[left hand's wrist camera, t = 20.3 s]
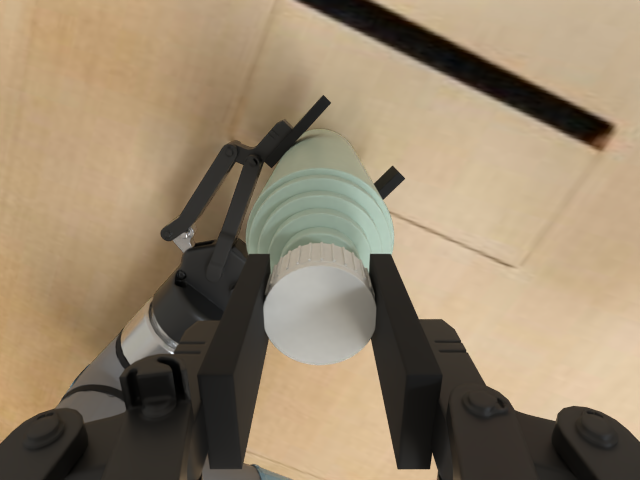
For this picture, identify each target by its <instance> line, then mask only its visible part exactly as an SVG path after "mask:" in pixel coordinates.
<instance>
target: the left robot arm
mask: <svg viewBox="0 0 640 480" xmlns="http://www.w3.org/2000/svg"><path fill="white" fill-rule="evenodd" d="M270 274H271V267H270V254H249V255H248V258H247V260H246V262H245V265H244V267H243V269H242V272H241V274H240V276H239V279H238V281H237V283H236V285H235V288H234V290H233V292H232V295H231V297H230V299H229V302H228V304H227V306H226V309H225V311H224V313H223V316H222V318H221V320H220V321H197V322H196V323H194V324H193V325H192V326H190V327H189V328H188V329H187V330H185V332H184V334H183V336H182V338H181V339H180V341H179V344H178V345H177V347H176V348H175V350H174V354H156V355H151V356H147V357H145V358H142V359H140V360H138V361H135V362H134V363H133V364H131V365H130V366H128V367H127V368H126V369H125V370H124V371H123V373H122V374H121V375H120V377H119V380H120V384H121V389H122V393H123V398H124V402H125V407H126V411H125V412H123V413H121V414H118V415H115V416H111V417H107V418H103V419H99V420H95V421H91V422H86V423H84V420H83V416H82V415H81V414H80V413H79V412H78V411H77V410H75V409H70V408H58V409H52V410H49V411H46V412H43V413H40V414H38V415H36V416H34V417H32V418H30V419H28V420H26V421H25V422H23V423H22V424H21V425H20V426H19V427H17V428H16V429H15V430H14V431H12V432H11V433H10V435H9V436H8V437H7V438H6V439H5V440H4V441H3V442H2V443H1V444H0V480H203V475H202V470H203V467H204V463H205V460H206V457H207V454H208V460H209V467H210V469H242V467H243V462H244V457H245V452H246V447H247V442H248V438H249V433H250V428H251V423H252V418H253V413H254V408H255V403H256V399H257V394H258V389H259V384H260V379H261V374H262V369H263V364H264V360H265V355H266V350H267V345H268V340H269V337H268V336H267V334H266V331H265V327H264V311H263V305H264V301H265V297H266V295H265V291H266V287H267V283H268V280H269V276H270ZM369 276H370V280H371V283H372V287H373V291H374V295H375V302H376V324H375V331H374V333H373V335H372V337H371V341H372V346H373V351H374V356H375V361H376V366H377V371H378V375H379V380H380V385H381V390H382V395H383V400H384V405H385V410H386V414H387V419H388V424H389V429H390V434H391V439H392V444H393V449H394V453H395V458H396V463H397V468H398V469H430V465H431V458H432V453H433V456H434V459H435V462H436V466H437V469H438V475H437V480H640V442H639V441H638V440H637V439H636V438H635V437H634V436H633V434H632V433H631V432H630V431H629V430H628V429H626V428H625V427H624V426H623V425H621V424H620V423H619V422H618V421H617V420H615V419H613V418H611V417H610V416H608V415H606V414H604V413H602V412H600V411H596V410H593V409H590V408H587V407H578V406H571V407H567V408H563V409H562V410H561V411H560V412H559V413H558V415H557V419H556V421H552V420H548V419H544V418H539V417H535V416H531V415H527V414H524V413H521V412H518V411H516V410H514V408H513V407H512V405H511V403H510V402H509V400H508V399H507V398H506V397H504V396H503V395H502V394H501V393H500V392H498V391H496V390H494V389H492V388H490V387H488V386H486V384H485V383H484V381H483V379H482V377H481V376H480V374H479V372H478V370H477V368H476V367H475V365H474V363H473V361H472V360H471V358H470V356H469V354H468V353H466V349H465V347H464V345H463V344H462V343H461V340H460V338H459V336H458V335H457V333H456V331H455V329H454V328H452V327H451V326H450V325H448V324H447V323H446V322H445V321H443V320H442V319H418V316H417V314H416V312H415V309H414V307H413V305H412V302H411V300H410V298H409V295H408V293H407V291H406V288H405V286H404V284H403V281H402V279H401V277H400V275H399V272H398V270H397V268H396V265H395V263H394V261H393V258H392V256H391V254H370V262H369Z"/></svg>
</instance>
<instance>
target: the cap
mask: <svg viewBox="0 0 640 480" xmlns="http://www.w3.org/2000/svg"><path fill="white" fill-rule="evenodd" d="M265 295H266V297H265V301H264V305H263V311H264V327H265V331H266V334H267V336H268V337H269V339H270V341H271V342H272V343H273V345H274V346H275V347H276V348H277V349H278V350H279V351H280V352H282V353H283V354H284V355H286V356H288V357H289V358H291V359H294V360H296V361H298V362H302V363H306V364H311V365H328V364H334V363H338V362H341V361H344V360H346V359H348V358H350V357H352V356H354V355H355V354H357V353H358V352H359V351H360V350H362V349H363V348H364V347H365V345H366V344H367V343H368V342H369V340H370V339H371V337H372V335H373V333H374V331H375V324H376V302H375V295H374V291H373V287H372V283H371V280H370V276H369V273H368V269H367V267H366V268H365V267H364V265H363V263H362V260H361V259H360V260H359V259H358V258H357V257H356V256H355V255H354V253H353V252H352V253H351V252H349V251H348V250H346V249H345V247H339V246H336V245H334V243H332V244H326V243H323V242H321V243H309V244H307V245H304V246H301V245H300V246H298V248H296V249H294V250H292V251H291V250H290V251H288V254H286V255H285V256H284V257H281V258H280V261H279V262H278V264H277V265H274V268H273V271H272V274H270V276H269V280H268V283H267V287H266V291H265Z"/></svg>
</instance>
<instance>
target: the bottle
mask: <svg viewBox="0 0 640 480" xmlns="http://www.w3.org/2000/svg"><path fill="white" fill-rule="evenodd" d="M321 242H323V243H326V244H332V243H334V245H336V246H339V247H345V249H346V250H348V251H349V252H351V253H352V252H353V253H354V255H355V256H356V257H357V258H358V259H359V260H360V259H361V260H362V263H363V265H364V267H365V268H366V267H367V269H368V273H369V262H370V254H391V255H392V251H393V245H394V229H393V223H392V219H391V215H390V213H389V211H388V208H387V206H386V205H385V203H384V201H383V199H382V198H381V196H380V194H379V192H378V191H377V189H376V187H375V185H374V184H373V182H372V180H371V178H370V177H369V175H368V173H367V171H366V170H365V168H364V166H363V164H362V163H361V161H360V159H359V158H358V156H357V154H356V152H355V151H354V149H353V147H352V145H351V144H350V143H349V142H348V141H347V140H346V139H345V138H344V137H343V136H341V135H340V134H338V133H336V132H334V131H331V130H327V129H314V130H309V131H306V132H304V133H303V134H302V135H301V136H300V138H299V139H298V140H297V141H296V142H295V143H294V144H293V145H292V146H291V147H290V149H289V150H288V151H287V152H286V153H285V154H284V155H283V156H282V157H281V159H280V161H279V163H278V164H277V166H276V168H275V170H274V171H273V173H272V175H271V176H270V178H269V180H268V182H267V183H266V185H265V187H264V189H263V190H262V192H261V194H260V196H259V197H258V199H257V201H256V202H255V204H254V206H253V208H252V210H251V213H250V215H249V219H248V222H247V228H246V246H247V252H248V255H249V254H270V267H271V274H272V271H273V268H274V265H277V264H278V262H279V261H280V258H281V257H284V256H285V255H286V254H288V251H290V250H291V251H292V250H294V249H296V248H298V246H300V245H301V246H304V245H307V244H309V243H321Z"/></svg>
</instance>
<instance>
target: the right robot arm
mask: <svg viewBox="0 0 640 480" xmlns="http://www.w3.org/2000/svg"><path fill="white" fill-rule="evenodd" d="M330 104H331V102H330V101H329V100H328V99H327V98H326V97H325V96H324V95H323V96H322V97H321V98H320V99H319V100H318V101H317V102H316V104H315V105H314V106H313V107H312V108H311V109H310V110H309V111H308V112H307V114H306V115H305V116H304V117H303V118H302V119H301V120H300V121H299V122H298V124H297V125H296V126H295V127H294V128H293V127H292V126H291V125H290V124H289V123H288V122H287V121H286V120H285V119H284V120H282V121H280V122H278V123H277V124H276V125H275V126H274V127H273V128H272V129H271V131H270V132H269V133H268V134H267V135H266V136H265V137H264V139H263V140H262V141H261V142H260V143H259V144H258V145H257V146H256V147H248V146H246V145H244V144H241V142H239V141H237V140H234V141H231V142H230V143H228V144H226V145H225V146H224V147H223V148H222V149H221V151H220V152H219V154H218V156H217V157H216V159H215V160H214V162H213V164H212V165H211V167H210V168H209V170H208V172H207V173H206V175H205V176H204V178H203V180H202V181H201V183H200V184H199V186H198V188H197V189H196V191H195V192H194V194H193V195H192V197H191V199H190V200H189V202H188V203H187V205H186V207H185V208H184V210H183V211H182V213H181V214H180V215H179V216H178V217H176V218H175V219H173V220H172V221H171V222H170V223H169V224H168V225H167V226H165V227H164V228H163V229H162V230H161V237H162V238H163V239H164V240H166V241H172V240H173V241H174V243H175V244H176V245H177V246H178V247H179V248H180V250H181V251H182V252H183V255H182V261H181V264H180V266H179V267H178V268H177V269H176V270H175V271H174V273H173V274H172V275H171V276H170V277H169V278H168V279H167V280H166V281H165V282H164V284H163V285H162V286H161V287H160V288H159V289H158V290H157V291H156V293H155V294H154V296H153V297H151V298H150V299H149V300H148V301H147V302H146V304H145V305H144V306H143V307H142V308H141V309H140V310H139V311H138V312H137V313H136V314H135V315H134V317H133V318H132V319H131V320H130V321H129V322H128V323H127V324H126V325H125V327H124V328H123V329H122V330H121V332H120V333H119V334H118V336H117V337H116V338H115V339H114V340H113V341H112V342H111V343H110V344H109V345H108V346H107V347H106V348H105V349H104V350H103V351H102V352H101V353H100V354H99V355H98V356H97V357H96V358H95V360H94V361H93V362H92V363H91V364H89V365H88V366H87V367H86V368H85V369H84V370H83V371H82V372H81V373H80V374H79V376H78V377H77V378H76V379H75V380H74V382H73V383H72V384H71V386H70V388H69V390H68V391H67V392H66V394H65V395H64V397H63V398H62V400H61V401H60V403H59V404H58V405H57V407H56V408H55V409H58V408H70V409H75V410H77V411H78V412H79V413H80V414H81V415H82V416H83V420H84V423H86V422H91V421H95V420H99V419H103V418H107V417H111V416H115V415H118V414H121V413H123V412H125V411H126V407H125V402H124V398H123V393H122V389H121V384H120V380H119V377H120V375H121V374H122V373H123V371H124V370H125V369H126V368H127V367H128V366H130V365H131V364H133V363H134V362H135V361H138V360H140V359H142V358H145V357H147V356H151V355H156V354H174V350H175V348H176V347H177V345H178V344H179V341H180V339H181V338H182V336H183V334H184V332H185V330H187V329H188V328H189V327H190V326H192V325H193V324H194V323H196V322H197V321H220V320H221V318H222V316H223V313H224V311H225V309H226V306H227V304H228V302H229V299H230V297H231V295H232V292H233V290H234V288H235V285H236V283H237V281H238V279H239V276H240V274H241V272H242V269H243V267H244V265H245V262H246V260H247V258H248V252H247V246H246V244H245V243H244V242H243V241H242V240H241V239H238V240H237V237H238V235H239V232H240V229H241V225H242V222H243V219H244V217H245V214H246V211H247V208H248V205H249V203H250V200H251V197H252V194H253V192H254V189H255V186H256V183H257V180H258V178H259V175H260V172H261V169H262V166H263V164H264V162H265V163H267V164H268V165H269V166H270V167H271V168H272V167H273V166H274V165H275V164H276V163H277V162H278V161H279V160H280V158H281V157H282V156H283V155H284V154H285V153H286V152H287V151H288V150H289V149H290V147H291V146H292V145H293V144H294V143H295V142H296V141H297V140H298V139H299V138H300V136H301V135H302V134H303V133H304V132H305V131H306V130H307V129H308V128H309V127H310V126H311V124H312V123H313V122H314V121H315V120H316V119H317V118H318V117H319V116H320V115H321V113H322V112H323V111H324V110H325V109H326V108H327V107H328V106H329V105H330ZM235 162H238V163H240V164H243V165H244V166H243V169H242V172H241V175H240V178H239V180H238V183H237V186H236V189H235V192H234V195H233V198H232V201H231V204H230V207H229V210H228V213H227V216H226V219H225V222H224V225H223V227H222V230H221V232H220V235H219V237H218V239H217V240H211V241H205V242H199V243H195V242H194V240H193V237H194V235H195V234H196V232H197V227H196V225H195V224H194V222H195V221H196V220H197V219H198V218H199V217H200V216H201V215H202V213H203V212H204V210H205V209H206V207H207V206H208V204H209V203H210V201H211V199H212V198H213V196H214V195H215V193H216V192H217V190H218V189H219V187H220V186H221V184H222V183H223V181H224V179H225V178H226V176H227V175H228V173H229V172H230V170H231V169H232V167H233V166H234V164H235ZM404 179H405V178H404V177H403V176H402V175H401V174H400V173H399V172H398V171H397V170H396V169H395V168H394V167H393V166H392V167H391V168H390V169H389V170H388V171H387V172H386V173H385V174H384V175H383V176H381V177H380V178H379V179H378V180H377V181H376V182H375V183H374V185H375V187H376V189H377V191H378V192H379V194H380V196H381V198H382V199H384V198H386V197H387V196H388V195H389V194H390V193H391V192H392V191H393V190H394V189H395V188H396V187H397V186H398V185H399V184H400V183H401V182H402V181H403V180H404ZM202 475H203V480H292V479H290V478H287V477H285V476H282V475H279V474H277V473H274V472H271V471H268V470H266V469H263V468H261V467H259V466H258V465H255V464H253V465H248V464H244V463H243V467H242V469H210V467H209V460H208V454H207V457H206V460H205V463H204V467H203V470H202Z"/></svg>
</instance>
